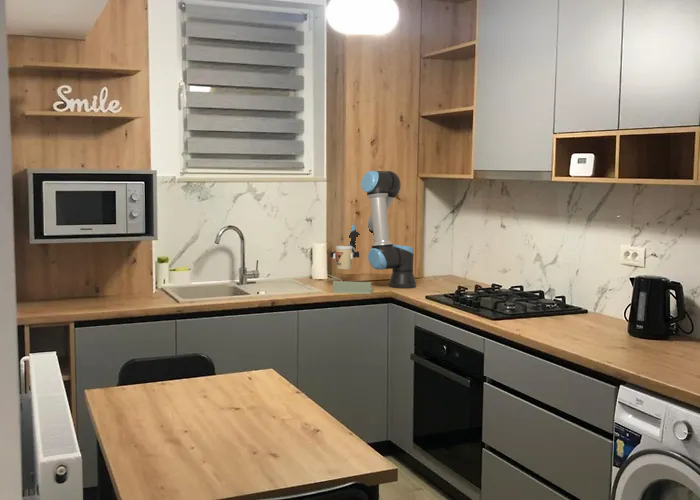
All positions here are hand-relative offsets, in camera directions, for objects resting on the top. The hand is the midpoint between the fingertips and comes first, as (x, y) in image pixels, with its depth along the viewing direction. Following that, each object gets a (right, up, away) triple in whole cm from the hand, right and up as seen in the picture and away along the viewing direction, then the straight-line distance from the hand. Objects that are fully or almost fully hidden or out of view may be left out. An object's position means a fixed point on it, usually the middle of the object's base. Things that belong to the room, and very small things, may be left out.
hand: (342, 256), depth 405 cm
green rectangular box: (+6, -19, -4) cm, 20 cm away
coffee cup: (+1, -7, +5) cm, 9 cm away
